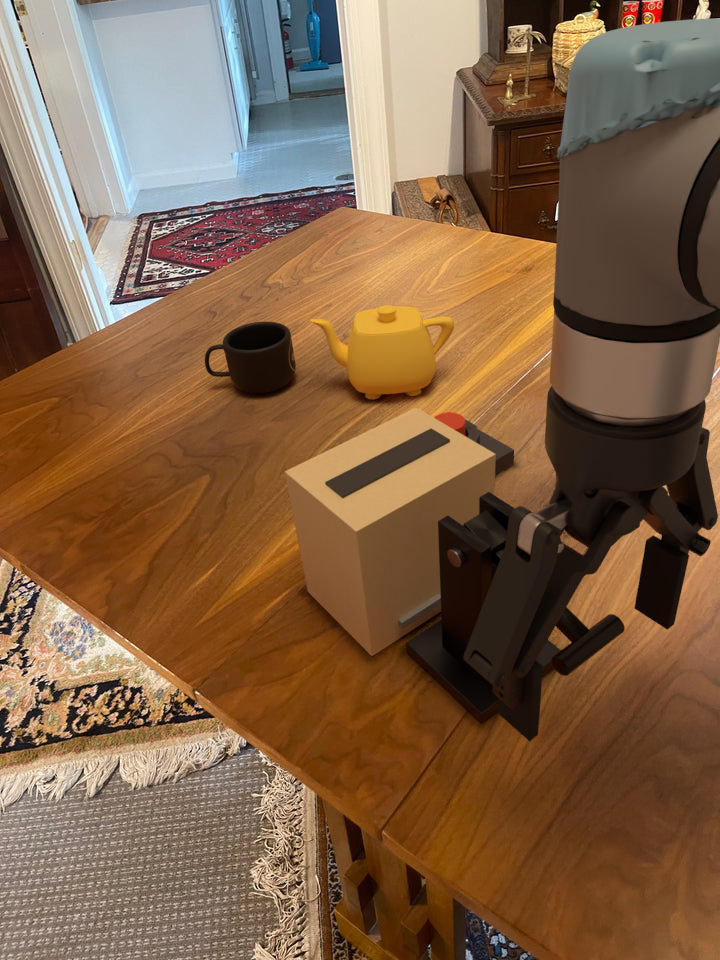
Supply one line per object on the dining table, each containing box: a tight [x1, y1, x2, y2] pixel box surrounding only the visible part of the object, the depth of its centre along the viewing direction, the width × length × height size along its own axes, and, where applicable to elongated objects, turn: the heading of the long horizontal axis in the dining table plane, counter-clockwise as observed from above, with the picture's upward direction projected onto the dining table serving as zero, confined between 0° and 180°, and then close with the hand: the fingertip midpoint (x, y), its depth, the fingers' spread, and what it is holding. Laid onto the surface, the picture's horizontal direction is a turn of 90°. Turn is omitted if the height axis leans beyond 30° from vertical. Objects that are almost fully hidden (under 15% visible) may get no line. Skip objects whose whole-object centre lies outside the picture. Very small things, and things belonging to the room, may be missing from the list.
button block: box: [465, 419, 515, 476], centre depth 81 cm, size 10×10×4 cm
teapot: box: [309, 304, 455, 400], centre depth 94 cm, size 18×11×11 cm, turn 91°
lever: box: [463, 510, 626, 677], centre depth 50 cm, size 12×6×2 cm, turn 36°
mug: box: [204, 321, 297, 394], centre depth 99 cm, size 12×9×7 cm
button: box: [433, 411, 466, 436], centre depth 79 cm, size 4×4×2 cm
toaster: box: [284, 407, 496, 657], centre depth 63 cm, size 10×14×14 cm
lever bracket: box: [405, 492, 562, 724], centre depth 56 cm, size 9×9×15 cm
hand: (589, 667), depth 49 cm, fingers open, 13 cm apart
